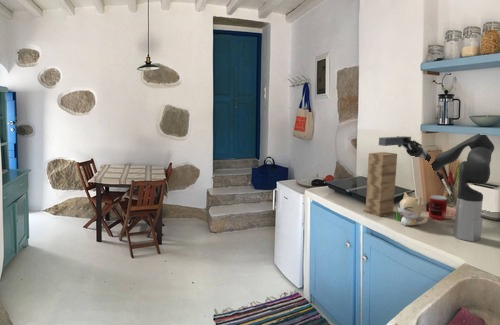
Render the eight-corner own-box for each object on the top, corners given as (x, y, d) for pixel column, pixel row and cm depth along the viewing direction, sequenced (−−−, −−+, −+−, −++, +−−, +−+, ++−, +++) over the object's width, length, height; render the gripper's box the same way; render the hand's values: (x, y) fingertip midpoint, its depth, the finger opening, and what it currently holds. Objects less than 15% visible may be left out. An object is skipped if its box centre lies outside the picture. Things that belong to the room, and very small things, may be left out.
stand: (395, 213, 181) (399, 153, 176) (380, 216, 175) (384, 155, 170) (378, 208, 190) (381, 151, 185) (363, 211, 184) (366, 153, 179)
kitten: (388, 220, 169) (390, 191, 167) (404, 218, 172) (407, 190, 170) (410, 230, 155) (413, 199, 153) (428, 228, 158) (431, 197, 156)
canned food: (441, 215, 177) (442, 195, 175) (448, 220, 169) (450, 199, 168) (425, 215, 178) (427, 194, 176) (432, 220, 170) (434, 198, 168)
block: (410, 144, 187) (411, 136, 186) (385, 145, 176) (385, 138, 176) (404, 143, 190) (404, 136, 189) (378, 145, 180) (379, 137, 179)
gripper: (425, 159, 187) (409, 145, 178) (403, 156, 199) (387, 142, 191) (430, 147, 188) (415, 132, 179) (408, 145, 200) (392, 131, 191)
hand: (400, 138), depth 185 cm, fingers closed on block, 4 cm apart
